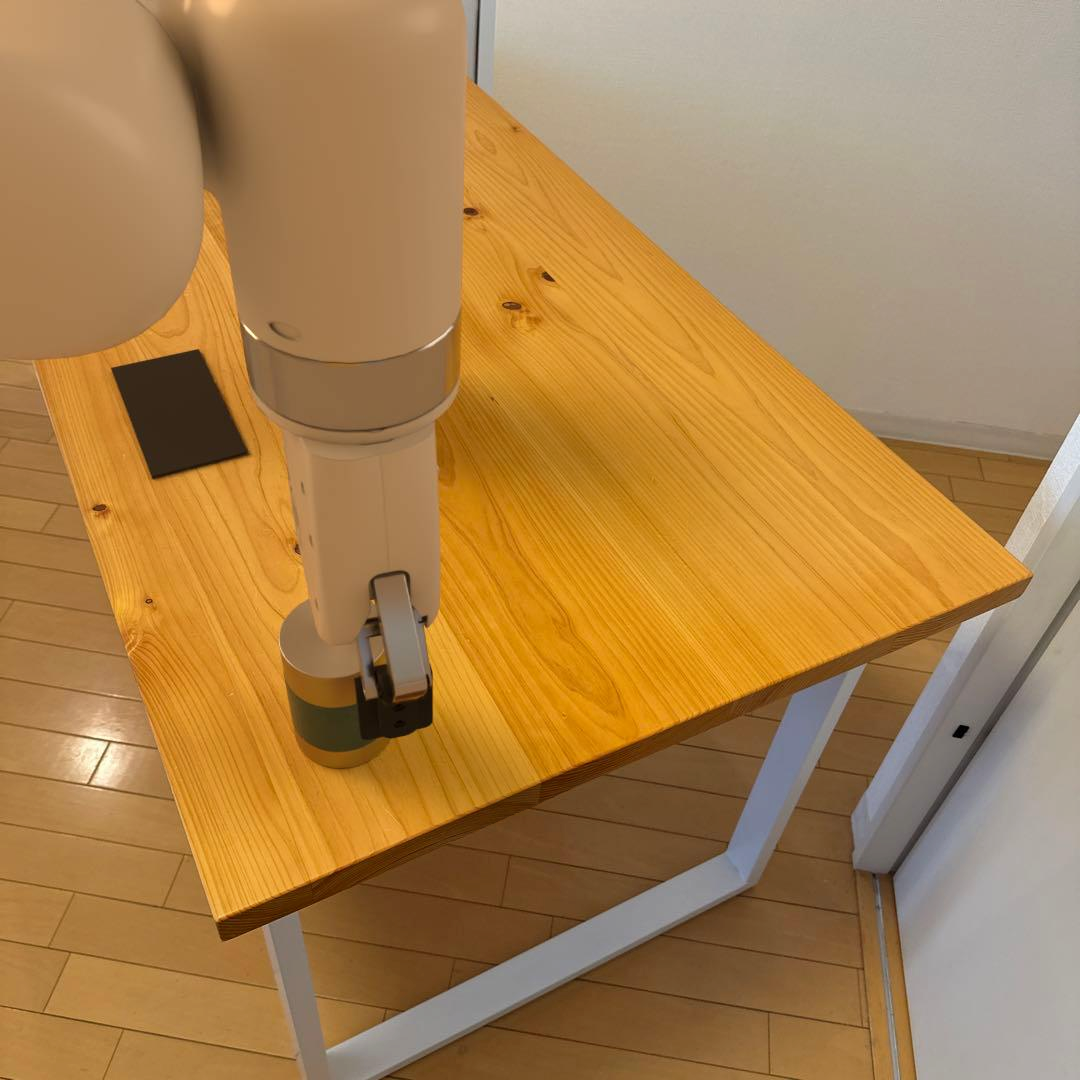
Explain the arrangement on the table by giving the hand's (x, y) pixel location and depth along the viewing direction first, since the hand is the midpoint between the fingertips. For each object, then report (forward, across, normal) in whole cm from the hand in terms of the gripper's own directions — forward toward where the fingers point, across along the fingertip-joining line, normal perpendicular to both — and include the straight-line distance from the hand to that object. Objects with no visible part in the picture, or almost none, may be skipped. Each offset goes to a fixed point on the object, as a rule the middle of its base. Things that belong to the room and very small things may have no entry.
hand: (374, 644), depth 48 cm
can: (+20, -9, -1) cm, 22 cm away
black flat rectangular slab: (+20, -46, -10) cm, 51 cm away
